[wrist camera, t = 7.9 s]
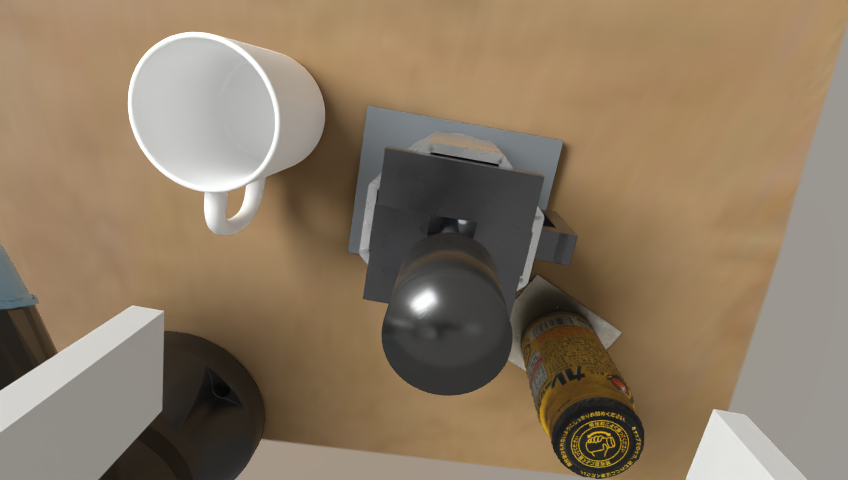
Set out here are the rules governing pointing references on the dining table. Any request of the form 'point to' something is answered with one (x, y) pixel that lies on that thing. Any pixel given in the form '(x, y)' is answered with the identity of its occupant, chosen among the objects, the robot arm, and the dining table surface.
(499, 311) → the plunger
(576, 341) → the condiment
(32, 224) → the dining table surface
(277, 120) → the cup
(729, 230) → the dining table surface
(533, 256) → the carafe
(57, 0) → the dining table surface
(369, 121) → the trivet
